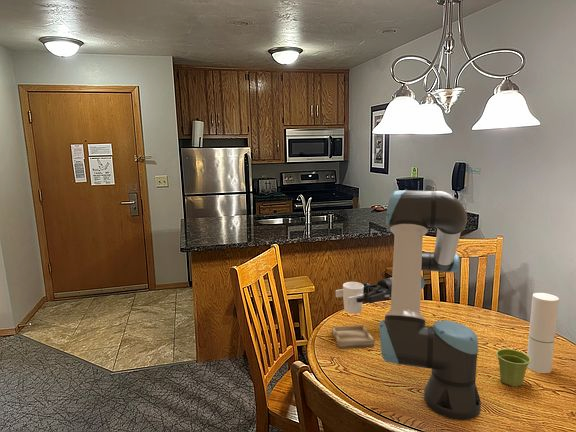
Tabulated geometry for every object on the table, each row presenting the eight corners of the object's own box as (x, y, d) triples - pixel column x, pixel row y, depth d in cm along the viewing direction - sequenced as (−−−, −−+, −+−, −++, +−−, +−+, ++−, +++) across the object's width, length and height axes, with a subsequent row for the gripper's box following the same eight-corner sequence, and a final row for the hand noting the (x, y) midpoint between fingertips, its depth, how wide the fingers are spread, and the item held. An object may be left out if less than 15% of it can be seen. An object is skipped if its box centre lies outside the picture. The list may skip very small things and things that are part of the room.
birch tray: (374, 346, 148) (374, 340, 148) (339, 348, 147) (339, 342, 147) (363, 330, 161) (363, 325, 161) (331, 332, 160) (331, 326, 160)
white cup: (363, 315, 148) (363, 289, 146) (341, 313, 149) (342, 288, 148) (363, 306, 155) (363, 282, 154) (343, 305, 157) (343, 281, 155)
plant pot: (488, 373, 130) (490, 348, 128) (518, 373, 130) (520, 348, 128) (503, 390, 121) (505, 363, 119) (535, 390, 120) (537, 363, 119)
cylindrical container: (553, 367, 133) (560, 296, 129) (548, 376, 127) (556, 302, 123) (529, 360, 137) (535, 291, 133) (523, 368, 132) (530, 297, 128)
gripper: (407, 305, 151) (358, 316, 141) (373, 288, 169) (327, 298, 159) (408, 286, 149) (358, 296, 140) (374, 271, 168) (327, 280, 158)
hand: (342, 297), depth 149 cm, fingers closed on white cup, 8 cm apart
